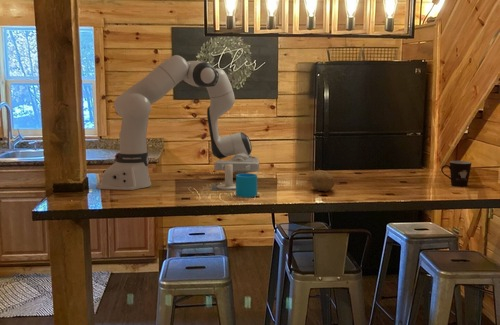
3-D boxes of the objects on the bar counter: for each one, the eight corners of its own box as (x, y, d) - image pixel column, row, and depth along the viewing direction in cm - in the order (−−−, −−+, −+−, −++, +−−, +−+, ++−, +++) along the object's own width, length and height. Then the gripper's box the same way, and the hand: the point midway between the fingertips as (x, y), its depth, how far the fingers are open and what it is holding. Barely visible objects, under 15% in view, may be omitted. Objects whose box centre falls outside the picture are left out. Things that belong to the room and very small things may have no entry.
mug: (257, 198, 201) (257, 177, 200) (236, 198, 200) (236, 177, 199) (256, 191, 213) (256, 171, 211) (235, 192, 212) (235, 171, 211)
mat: (211, 191, 213) (211, 190, 213) (212, 185, 225) (212, 184, 225) (246, 191, 213) (246, 190, 213) (245, 185, 225) (245, 184, 225)
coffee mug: (470, 184, 228) (472, 161, 227) (469, 188, 221) (471, 164, 219) (442, 182, 233) (443, 159, 232) (440, 185, 225) (441, 162, 224)
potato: (314, 194, 207) (315, 174, 206) (306, 187, 221) (307, 168, 219) (339, 194, 208) (339, 174, 207) (329, 187, 222) (330, 168, 221)
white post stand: (216, 189, 214) (216, 166, 213) (217, 185, 224) (216, 162, 223) (241, 189, 214) (241, 166, 213) (240, 185, 224) (240, 162, 223)
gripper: (217, 156, 245) (210, 161, 231) (261, 157, 242) (257, 161, 228) (217, 170, 246) (211, 175, 232) (261, 171, 243) (257, 176, 229)
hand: (234, 168), depth 230 cm, fingers open, 8 cm apart
